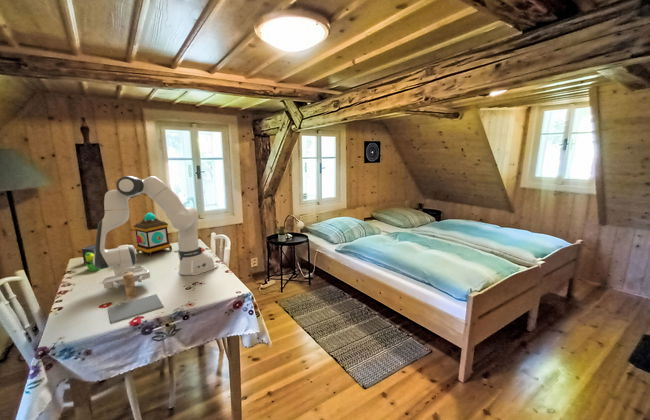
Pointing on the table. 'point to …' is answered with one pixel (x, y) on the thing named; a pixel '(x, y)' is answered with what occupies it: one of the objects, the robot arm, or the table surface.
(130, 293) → the oak post
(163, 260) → the table surface
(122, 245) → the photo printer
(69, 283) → the table surface
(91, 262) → the fruit basket
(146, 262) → the table surface
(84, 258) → the small box
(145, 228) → the decorative lantern
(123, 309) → the slate mat
